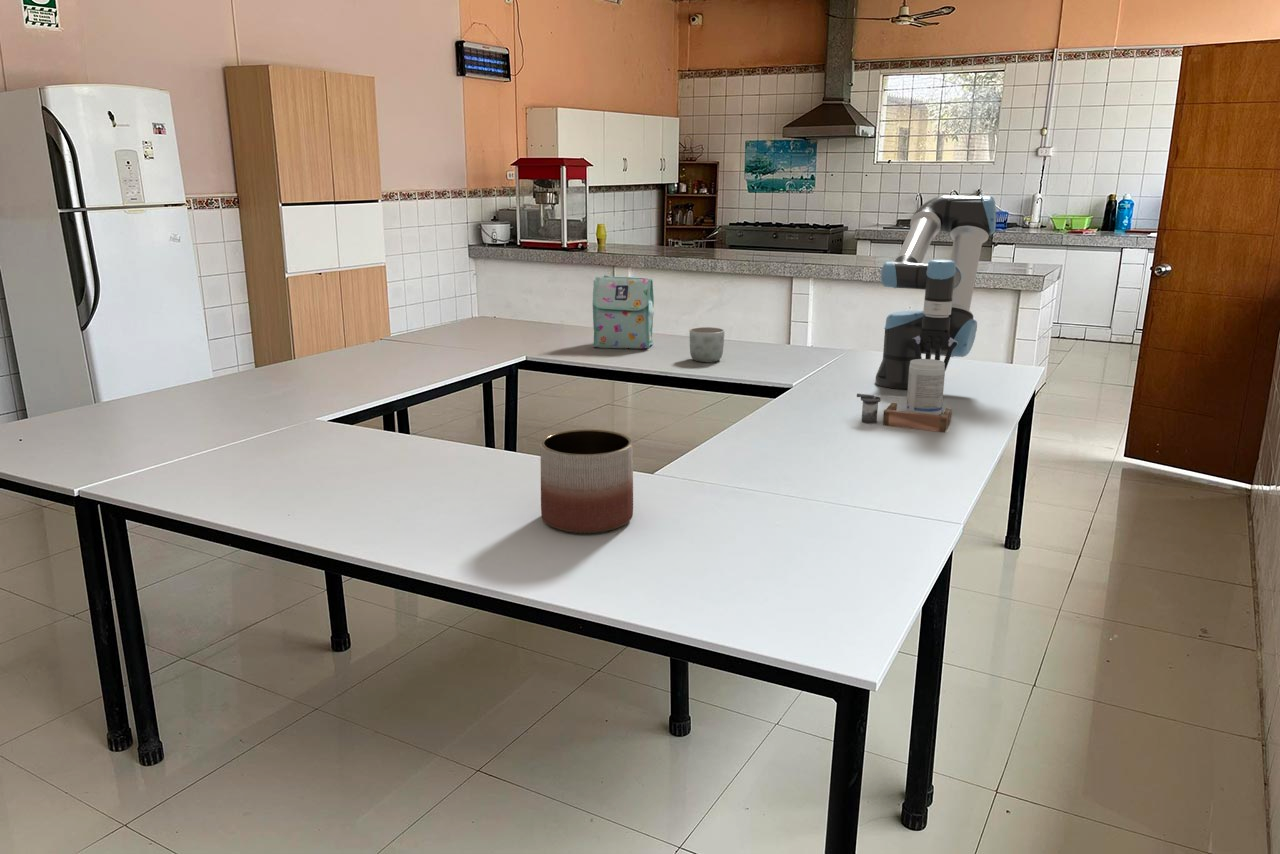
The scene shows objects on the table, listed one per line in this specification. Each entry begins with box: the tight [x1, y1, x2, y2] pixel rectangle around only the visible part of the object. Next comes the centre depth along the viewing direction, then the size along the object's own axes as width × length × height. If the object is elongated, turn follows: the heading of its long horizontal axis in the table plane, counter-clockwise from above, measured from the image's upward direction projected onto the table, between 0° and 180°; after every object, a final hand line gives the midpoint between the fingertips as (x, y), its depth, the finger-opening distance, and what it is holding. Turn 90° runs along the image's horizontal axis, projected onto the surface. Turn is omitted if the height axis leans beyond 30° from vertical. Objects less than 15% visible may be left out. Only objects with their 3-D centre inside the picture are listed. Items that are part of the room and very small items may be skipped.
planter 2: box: [689, 326, 725, 363], centre depth 325 cm, size 12×12×11 cm
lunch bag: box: [592, 274, 655, 350], centre depth 348 cm, size 23×16×27 cm
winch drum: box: [856, 393, 882, 425], centre depth 247 cm, size 5×6×7 cm
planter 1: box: [539, 428, 634, 535], centre depth 175 cm, size 18×18×16 cm
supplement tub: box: [905, 358, 946, 415], centre depth 255 cm, size 10×10×15 cm
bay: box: [882, 402, 952, 433], centre depth 246 cm, size 12×16×4 cm
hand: (929, 396), depth 265 cm, fingers closed
